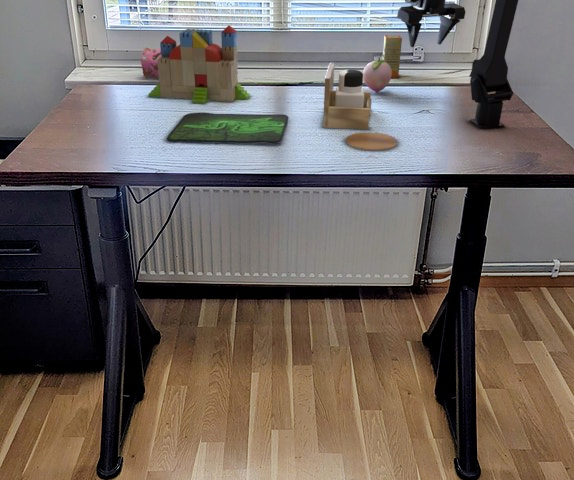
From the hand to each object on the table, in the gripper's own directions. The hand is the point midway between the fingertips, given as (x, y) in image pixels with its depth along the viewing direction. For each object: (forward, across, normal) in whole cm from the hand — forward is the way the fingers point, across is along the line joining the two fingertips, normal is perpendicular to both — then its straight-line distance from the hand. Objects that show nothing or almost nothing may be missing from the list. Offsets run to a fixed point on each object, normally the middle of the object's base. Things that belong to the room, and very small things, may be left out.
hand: (425, 45), depth 175 cm
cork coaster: (+11, +34, +29) cm, 46 cm away
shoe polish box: (+18, -7, -23) cm, 30 cm away
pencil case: (+21, +56, -50) cm, 78 cm away
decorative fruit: (+16, +8, -8) cm, 20 cm away
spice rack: (+13, +29, +10) cm, 34 cm away
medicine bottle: (+13, +29, +10) cm, 34 cm away
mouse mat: (+14, +60, +6) cm, 62 cm away
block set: (+18, +57, -26) cm, 65 cm away
